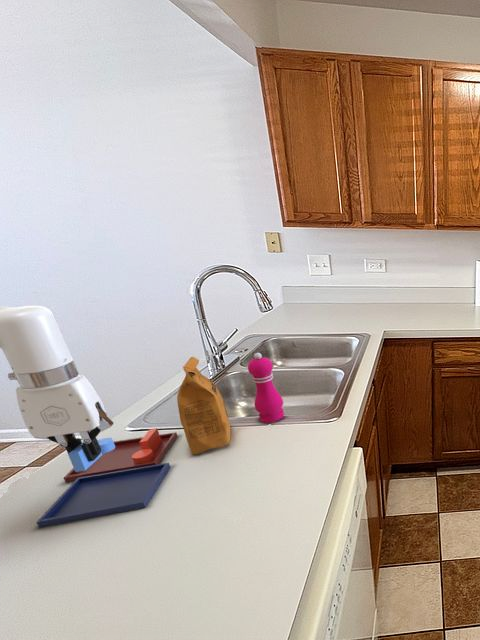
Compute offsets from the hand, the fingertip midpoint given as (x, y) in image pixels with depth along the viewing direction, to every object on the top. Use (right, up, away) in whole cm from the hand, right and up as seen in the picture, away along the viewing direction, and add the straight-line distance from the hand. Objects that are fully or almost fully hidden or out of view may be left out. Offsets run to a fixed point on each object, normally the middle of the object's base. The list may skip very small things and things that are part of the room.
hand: (88, 457), depth 79 cm
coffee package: (+8, -2, +24) cm, 26 cm away
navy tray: (-1, -9, +6) cm, 11 cm away
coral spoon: (-3, -3, +19) cm, 19 cm away
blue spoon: (-1, -1, +2) cm, 2 cm away
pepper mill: (+18, +3, +35) cm, 40 cm away
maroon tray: (-8, -4, +18) cm, 20 cm away
